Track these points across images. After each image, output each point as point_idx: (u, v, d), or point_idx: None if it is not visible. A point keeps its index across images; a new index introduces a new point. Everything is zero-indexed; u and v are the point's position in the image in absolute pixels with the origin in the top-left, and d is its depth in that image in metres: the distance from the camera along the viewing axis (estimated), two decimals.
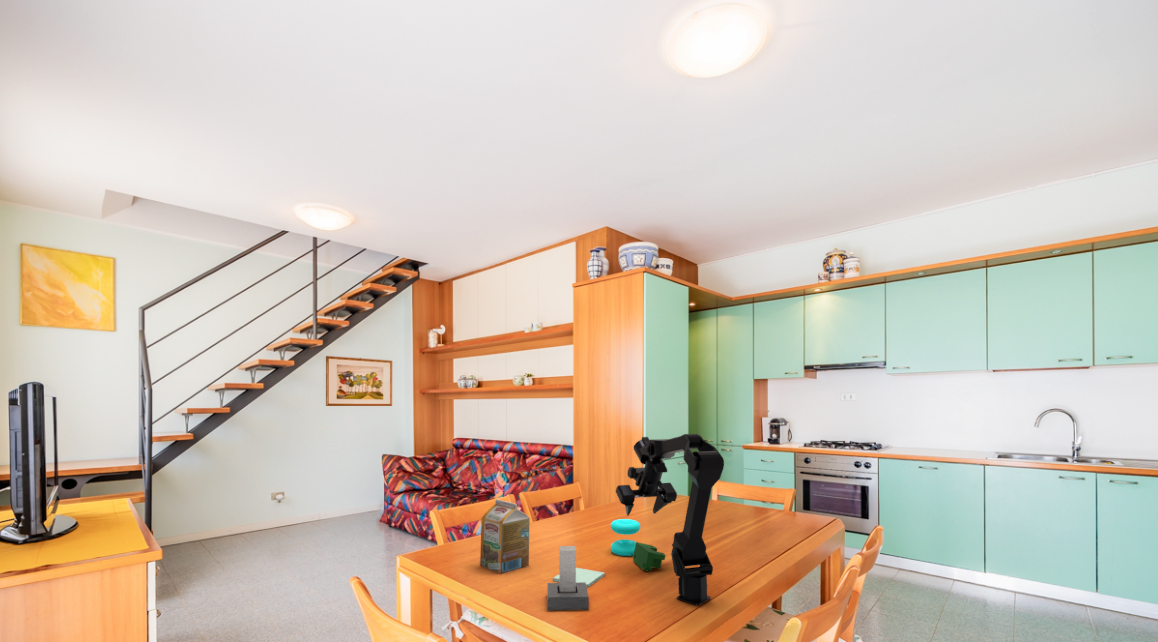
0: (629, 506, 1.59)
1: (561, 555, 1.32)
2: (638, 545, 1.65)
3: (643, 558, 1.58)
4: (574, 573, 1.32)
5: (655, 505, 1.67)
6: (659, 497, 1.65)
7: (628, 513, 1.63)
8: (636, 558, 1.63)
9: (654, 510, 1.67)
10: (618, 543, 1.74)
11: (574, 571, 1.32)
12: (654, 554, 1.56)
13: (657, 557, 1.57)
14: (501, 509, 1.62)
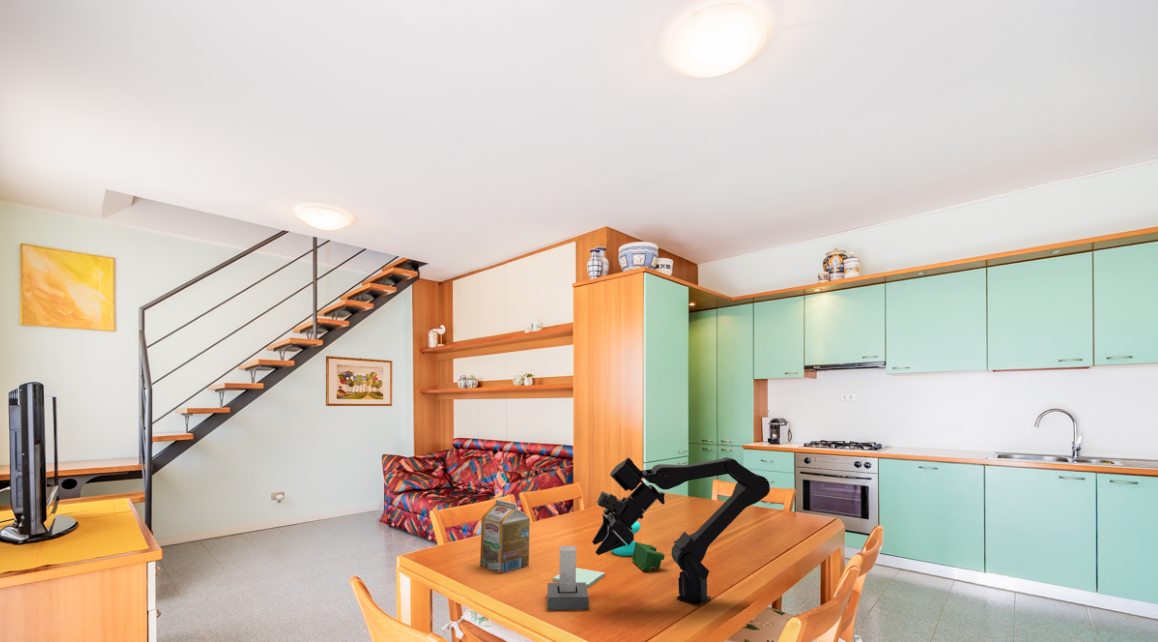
0: None
1: (561, 555, 1.32)
2: (637, 545, 1.64)
3: (642, 558, 1.58)
4: (574, 573, 1.32)
5: (600, 535, 1.40)
6: (609, 525, 1.41)
7: (604, 552, 1.30)
8: (636, 558, 1.63)
9: (597, 541, 1.39)
10: None
11: (574, 571, 1.32)
12: (653, 554, 1.56)
13: (656, 557, 1.56)
14: (502, 509, 1.62)
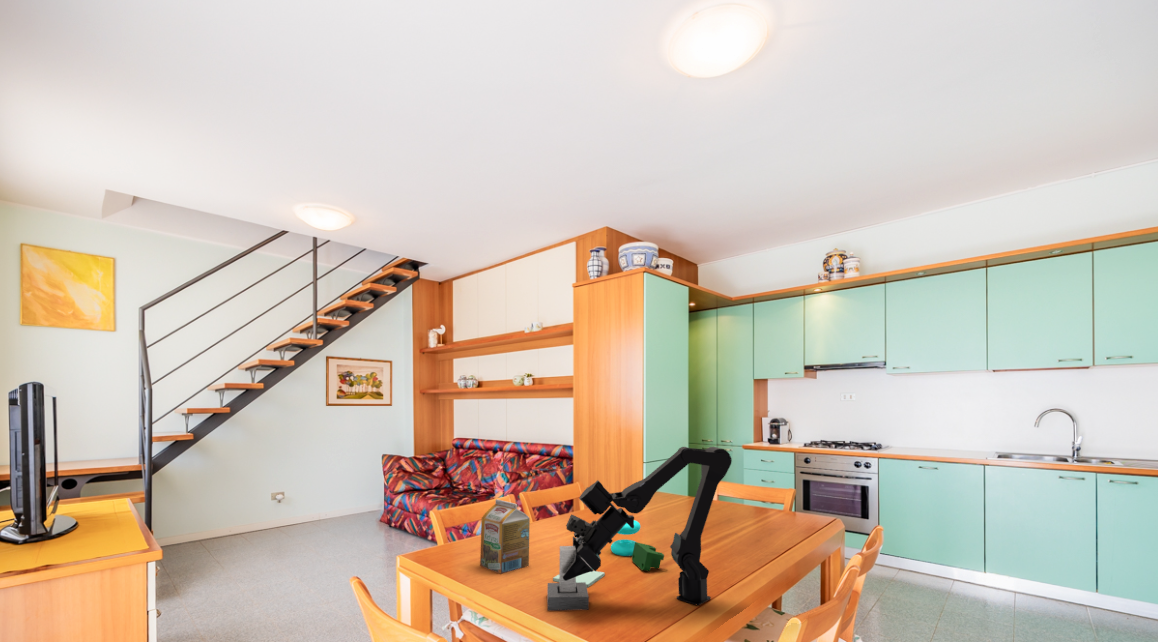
0: None
1: (561, 555, 1.32)
2: (637, 545, 1.64)
3: (642, 558, 1.58)
4: None
5: None
6: None
7: (571, 578, 1.29)
8: (635, 558, 1.63)
9: None
10: (618, 543, 1.74)
11: None
12: (653, 554, 1.56)
13: (656, 557, 1.56)
14: (502, 509, 1.62)
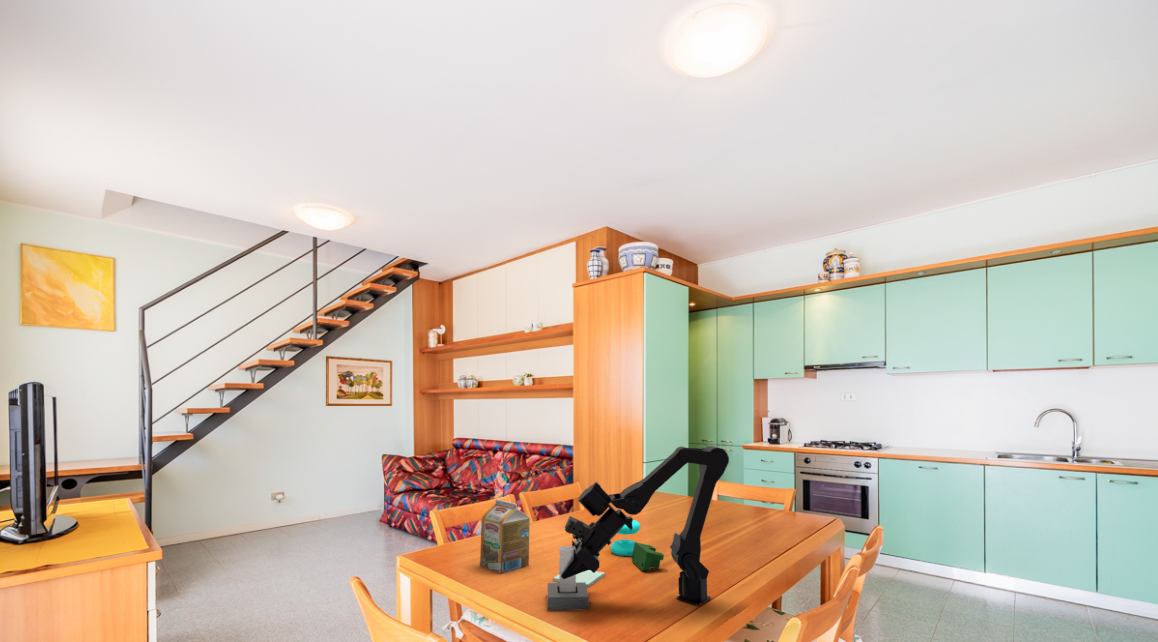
0: None
1: (561, 555, 1.32)
2: (637, 545, 1.64)
3: (641, 558, 1.58)
4: None
5: None
6: None
7: (569, 576, 1.31)
8: (635, 558, 1.63)
9: None
10: (618, 543, 1.74)
11: None
12: (652, 554, 1.56)
13: (655, 557, 1.56)
14: (501, 509, 1.62)
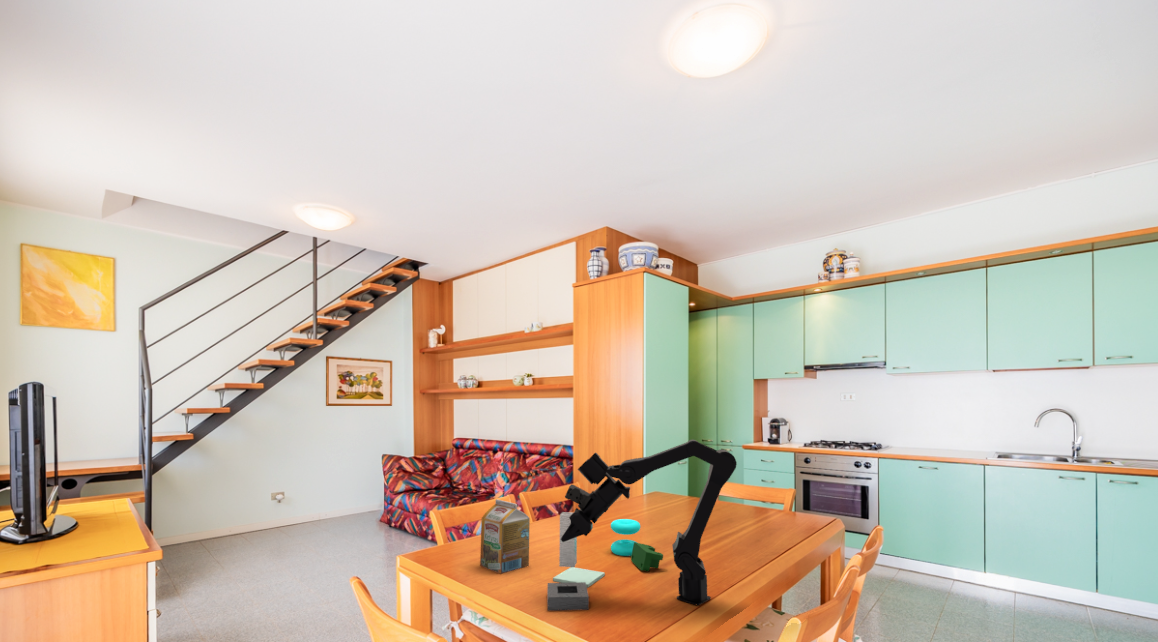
0: None
1: (561, 519, 1.40)
2: (636, 545, 1.64)
3: (641, 558, 1.58)
4: None
5: None
6: None
7: None
8: (634, 558, 1.63)
9: None
10: (618, 543, 1.74)
11: None
12: (652, 554, 1.56)
13: (655, 557, 1.56)
14: (502, 509, 1.62)
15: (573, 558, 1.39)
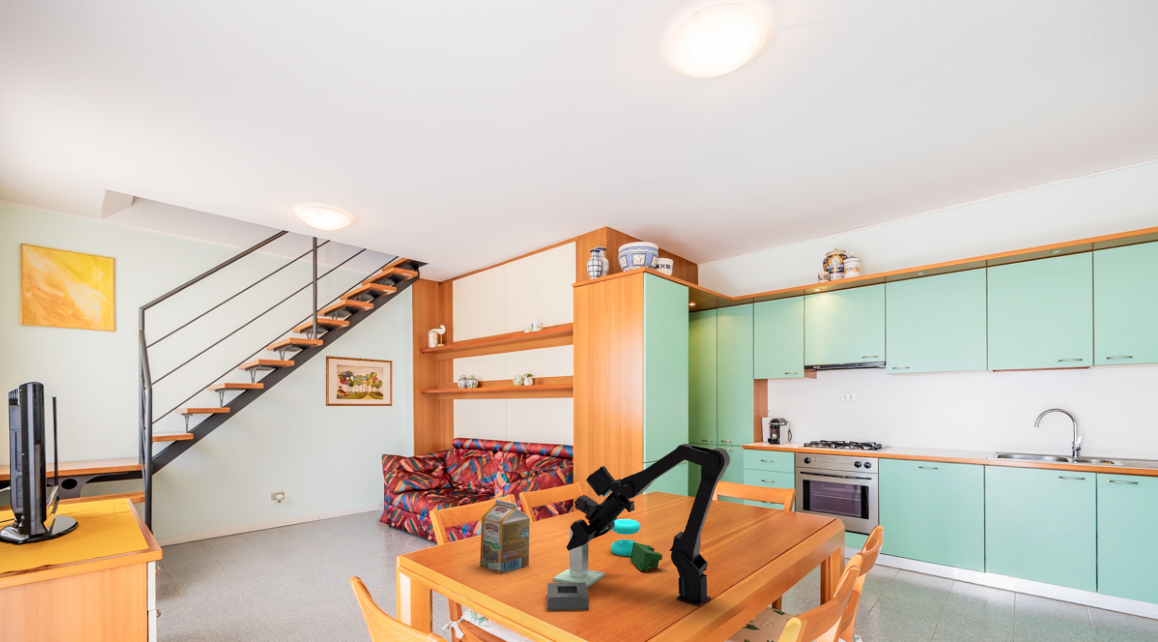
0: None
1: (570, 532, 1.51)
2: (635, 545, 1.64)
3: (640, 558, 1.58)
4: (581, 550, 1.49)
5: None
6: None
7: None
8: (633, 558, 1.63)
9: None
10: (618, 543, 1.74)
11: (581, 548, 1.49)
12: (651, 554, 1.56)
13: (654, 557, 1.56)
14: (502, 509, 1.62)
15: (581, 570, 1.48)
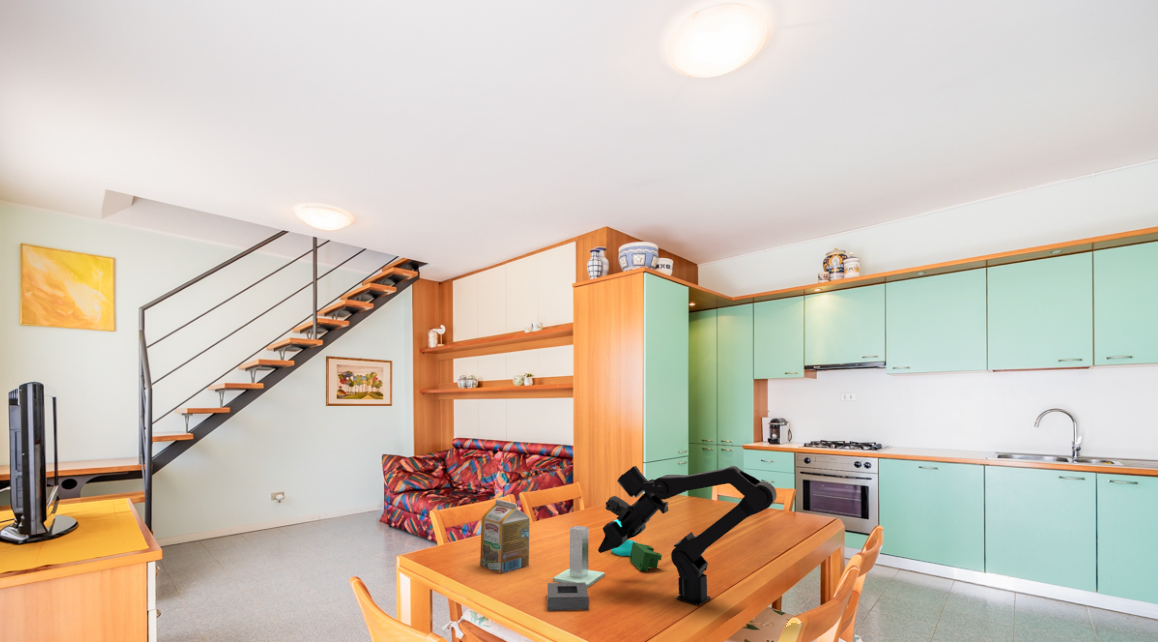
0: None
1: (570, 532, 1.51)
2: (635, 545, 1.64)
3: (639, 558, 1.58)
4: (581, 550, 1.49)
5: None
6: None
7: (604, 551, 1.42)
8: (633, 558, 1.63)
9: None
10: None
11: (581, 548, 1.49)
12: (650, 554, 1.56)
13: (653, 557, 1.56)
14: (501, 509, 1.62)
15: (581, 570, 1.48)
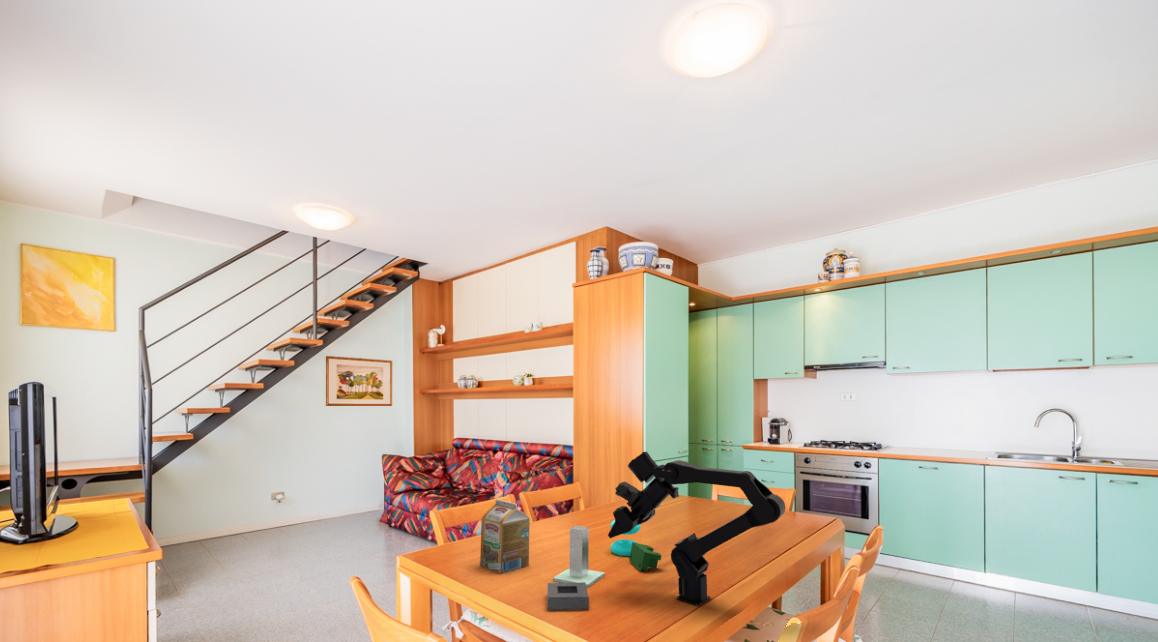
0: (627, 531, 1.39)
1: (570, 532, 1.51)
2: (634, 545, 1.64)
3: (639, 558, 1.58)
4: (581, 550, 1.49)
5: None
6: None
7: (614, 536, 1.42)
8: (632, 558, 1.63)
9: None
10: (618, 543, 1.74)
11: (581, 548, 1.49)
12: (650, 554, 1.56)
13: (653, 557, 1.56)
14: (502, 509, 1.62)
15: (581, 570, 1.48)
